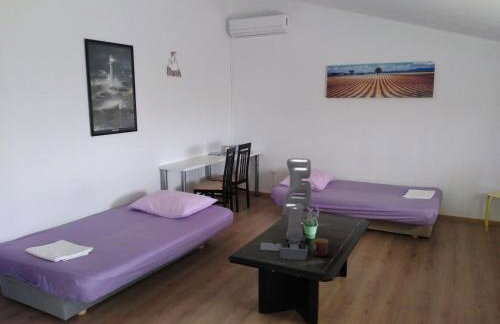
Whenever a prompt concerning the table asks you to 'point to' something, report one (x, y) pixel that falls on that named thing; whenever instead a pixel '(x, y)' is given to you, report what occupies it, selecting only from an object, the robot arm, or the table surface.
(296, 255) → the grey open bin
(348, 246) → the table surface
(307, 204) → the robot arm
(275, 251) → the track
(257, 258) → the table surface
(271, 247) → the lock bar
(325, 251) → the mug
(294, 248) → the lock block
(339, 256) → the table surface
